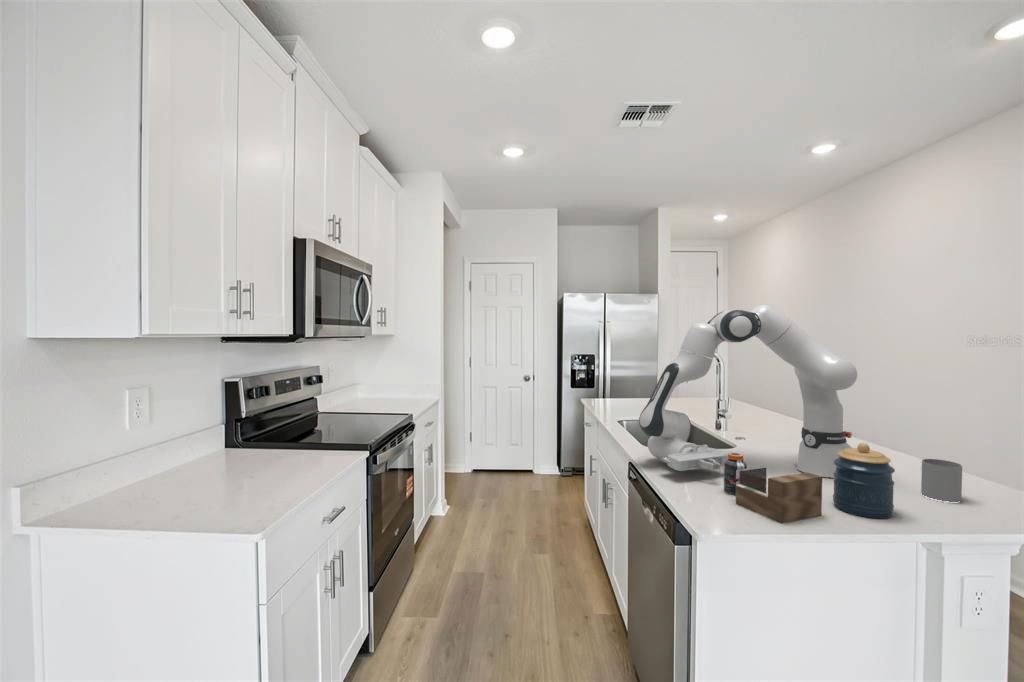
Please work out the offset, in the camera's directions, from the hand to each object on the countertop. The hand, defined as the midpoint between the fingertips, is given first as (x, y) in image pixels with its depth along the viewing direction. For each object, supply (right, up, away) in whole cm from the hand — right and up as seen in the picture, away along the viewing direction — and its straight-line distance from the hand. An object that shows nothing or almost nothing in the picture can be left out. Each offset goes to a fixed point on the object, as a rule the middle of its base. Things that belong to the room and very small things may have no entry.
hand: (716, 466), depth 145 cm
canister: (+30, -6, -20) cm, 37 cm away
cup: (+59, -6, -11) cm, 60 cm away
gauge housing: (+7, -6, -19) cm, 21 cm away
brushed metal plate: (+3, -5, -13) cm, 14 cm away
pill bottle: (+3, -6, -7) cm, 9 cm away
